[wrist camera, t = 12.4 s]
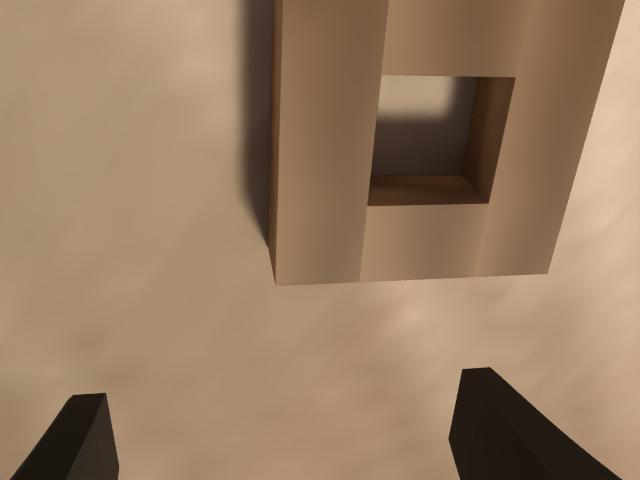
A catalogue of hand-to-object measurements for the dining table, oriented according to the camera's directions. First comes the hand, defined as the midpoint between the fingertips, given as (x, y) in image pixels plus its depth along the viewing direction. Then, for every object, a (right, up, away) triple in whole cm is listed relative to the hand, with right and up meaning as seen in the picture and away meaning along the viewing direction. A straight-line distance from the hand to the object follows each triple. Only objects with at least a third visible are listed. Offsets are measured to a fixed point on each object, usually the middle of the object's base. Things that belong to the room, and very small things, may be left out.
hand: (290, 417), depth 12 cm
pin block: (+4, +8, +9) cm, 12 cm away
